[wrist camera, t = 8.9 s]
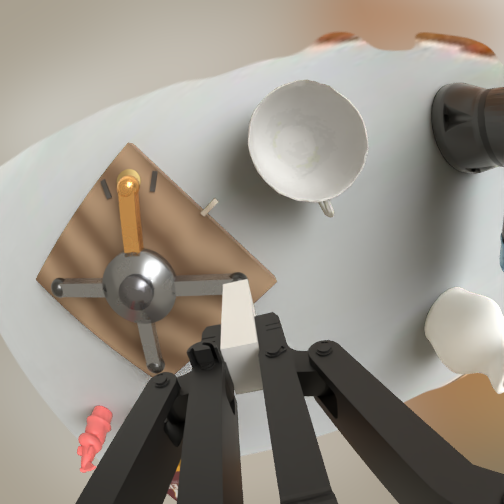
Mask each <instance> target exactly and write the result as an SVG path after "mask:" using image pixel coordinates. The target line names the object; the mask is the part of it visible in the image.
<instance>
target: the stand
mask: <svg viewBox="0 0 504 504" xmlns="http://www.w3.org/2000/svg"><path fill="white" fill-rule="evenodd" d="M126 175H131V176H134V177H135V178H136V179H137V180H138V181H139V184H140V189H139V205H140V217H141V228H142V237H143V246H144V248H146V249H150V250H152V251H155V252H157V253H158V254H160V255H161V256H163V257H164V258H165V259H166V260H167V261H168V262H169V263H170V265H171V266H172V268H173V269H174V272H175V274H176V276H180V275H206V274H229V273H234V272H241V273H243V274H245V275H246V276H247V278H248V280H249V288H250V292H251V296H252V301H253V304H254V303H255V302H256V301H257V300H258V299H259V298H260V297H261V296H262V295H264V294H265V293H266V292H267V291H268V290H269V289H270V288H271V287H272V286H273V285H274V284H275V283H276V282H277V280H276V278H275V276H274V275H273V274H272V273H271V272H270V271H269V270H268V269H267V268H265V267H264V266H263V265H262V264H261V263H260V262H259V261H258V260H257V259H256V258H255V257H254V256H253V255H252V254H250V253H249V252H248V251H247V250H246V249H245V248H244V247H243V246H242V245H241V244H240V243H239V242H238V241H237V240H235V239H234V238H233V237H232V236H231V235H230V234H229V233H228V232H227V231H226V230H225V229H224V228H223V227H222V226H220V225H219V224H218V223H217V222H216V221H215V220H214V219H213V218H212V217H211V216H210V215H209V214H208V212H209V211H210V210H211V209H212V208H213V207H214V206H215V205H216V204H217V203H218V202H219V201H218V200H216V199H215V198H214V199H213V200H212V201H211V202H210V204H209V205H208V206H207V207H206V208H205V209H204V210H203V209H202V208H201V207H200V206H199V205H198V204H197V203H196V202H195V201H194V200H193V199H192V198H191V197H189V196H188V195H187V194H186V193H185V192H184V191H183V190H182V189H181V188H180V187H179V186H178V185H177V184H176V183H175V182H173V181H172V180H171V179H170V178H169V177H168V176H167V175H166V174H165V173H164V172H163V171H162V170H161V169H160V168H159V167H157V166H156V165H155V164H154V163H153V162H152V161H151V160H150V159H149V158H148V157H147V156H146V155H145V154H144V153H143V152H141V151H140V150H139V149H138V148H137V147H136V146H135V145H134V144H133V143H127V145H126V146H125V147H124V148H123V149H122V151H121V152H120V153H119V154H118V155H117V157H116V158H115V159H114V160H113V162H112V163H111V164H110V165H109V167H108V168H107V169H106V171H105V172H104V173H103V174H102V176H101V177H100V178H99V180H98V181H97V182H96V184H95V185H94V186H93V188H92V189H91V191H90V192H89V193H88V195H87V196H86V198H85V199H84V200H83V202H82V203H81V205H80V206H79V208H78V209H77V211H76V212H75V214H74V215H73V217H72V218H71V220H70V221H69V223H68V224H67V226H66V228H65V229H64V231H63V232H62V234H61V236H60V237H59V239H58V240H57V242H56V244H55V245H54V247H53V249H52V251H51V252H50V254H49V256H48V258H47V259H46V261H45V263H44V265H43V267H42V268H41V270H40V272H39V274H38V276H37V278H36V280H37V281H38V282H39V283H40V284H41V285H42V286H43V287H44V288H45V289H46V290H47V291H48V292H49V293H50V294H51V295H52V296H53V297H54V298H55V299H56V300H57V301H58V302H59V303H60V304H61V305H62V306H63V307H64V308H65V309H67V310H68V311H69V312H70V313H71V314H72V315H73V316H74V317H75V318H77V319H78V320H79V321H80V322H81V323H82V324H83V325H85V326H86V327H87V328H88V329H89V330H90V331H92V332H93V333H94V334H95V335H96V336H98V337H99V338H100V339H101V340H103V341H104V342H105V343H106V344H108V345H109V346H110V347H111V348H113V349H114V350H115V351H117V352H118V353H119V354H121V355H122V356H123V357H124V358H126V359H127V360H129V361H130V362H131V363H133V364H134V365H135V366H137V367H138V368H140V369H141V370H142V371H144V372H145V373H147V374H148V375H150V376H151V377H153V376H155V375H157V374H154V373H152V372H150V371H149V370H148V369H147V366H146V358H145V355H144V351H143V347H142V342H141V338H140V334H139V329H138V325H137V323H134V322H131V321H128V320H126V319H124V318H123V317H121V316H120V315H118V314H117V313H116V312H115V311H114V310H113V309H112V308H111V306H110V305H109V304H108V302H107V300H106V298H105V297H63V298H58V297H56V296H55V295H54V294H53V293H52V291H51V284H52V282H53V280H54V279H56V278H64V279H65V278H103V275H104V272H105V269H106V267H107V266H108V264H109V263H110V262H111V261H112V260H113V259H114V258H115V257H116V256H117V255H118V254H119V253H121V252H123V251H124V245H123V237H122V229H121V219H120V209H119V198H118V193H117V183H118V181H119V180H120V179H121V178H122V177H124V176H126ZM221 318H222V295H202V296H176V299H175V303H174V305H173V308H172V309H171V311H170V312H169V313H168V315H166V316H165V317H164V318H163V319H161V320H159V321H157V322H155V324H156V330H157V335H158V340H159V345H160V349H161V354H162V358H163V360H164V362H165V368H164V370H163V371H162V372H170V373H173V374H175V373H176V372H178V371H179V370H180V369H181V368H182V367H183V366H185V365H186V364H187V363H188V362H189V361H190V360H189V358H188V355H187V353H186V352H187V350H188V348H189V347H191V346H192V345H193V344H195V343H197V342H201V340H202V339H201V338H202V332H203V331H204V330H205V328H206V327H208V326H213V325H218V324H221ZM162 372H161V373H162ZM158 374H159V373H158Z"/></svg>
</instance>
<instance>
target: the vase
mask: <svg viewBox="0 0 504 504" xmlns="http://www.w3.org/2000/svg"><path fill="white" fill-rule="evenodd" d="M424 331H425V337H426V338H427V339H428V340H429V341H430V343H431V344H432V346H433V348H434V350H435V352H436V354H437V355H438V357H439V359H440V360H441V361H442V363H443V364H444V365H445V366H446V367H447V368H448V369H449V370H451V371H452V372H454V373H457V374H471V373H483V374H485V375H487V376H488V377H489V379H490V382H491V384H492V386H493V388H494V390H495V391H496V392H497V393H498V394H499V393H503V392H504V317H503V315H502V312H501V310H500V308H499V306H498V305H497V303H496V302H495V301H493V300H492V299H490V298H488V297H485V296H482V295H480V294H476V293H473V292H469V291H467V290H465V289H463V288H460V287H454V288H450V289H448V290H447V291H446V292H444V293H443V294H442V295H440V296H439V298H438V299H437V300H436V301H435V303H434V304H433V305H432V307H431V309H430V311H429V313H428V315H427V317H426V321H425V326H424Z"/></svg>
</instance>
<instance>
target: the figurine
mask: <svg viewBox="0 0 504 504" xmlns="http://www.w3.org/2000/svg"><path fill="white" fill-rule="evenodd" d="M111 419H112V413H111V412H110V411H109V410H108V409H107V408H105V407H103V406H96V407H94V410H93V412H92V415H91V416H88V417H87V426H86V429H85V433H82V434H81V435H80V436H79V439H78V440H79V443H80V444H81V446H79V447H78V449H77V454H78V455H80V456H82V457H81V468H80V471H81V472H83V473H85V472H86V471H91V470H94V469H95V468H96V466H94V465H93V464H92V463H91V462H92V461H93V459H94V457H95V454H96V453H98V452H99V451H100V450H101V449H102V445H103V444H104V442H105V437H106V433H107V432H109V431H110V430H111V426H110V422H111Z"/></svg>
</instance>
